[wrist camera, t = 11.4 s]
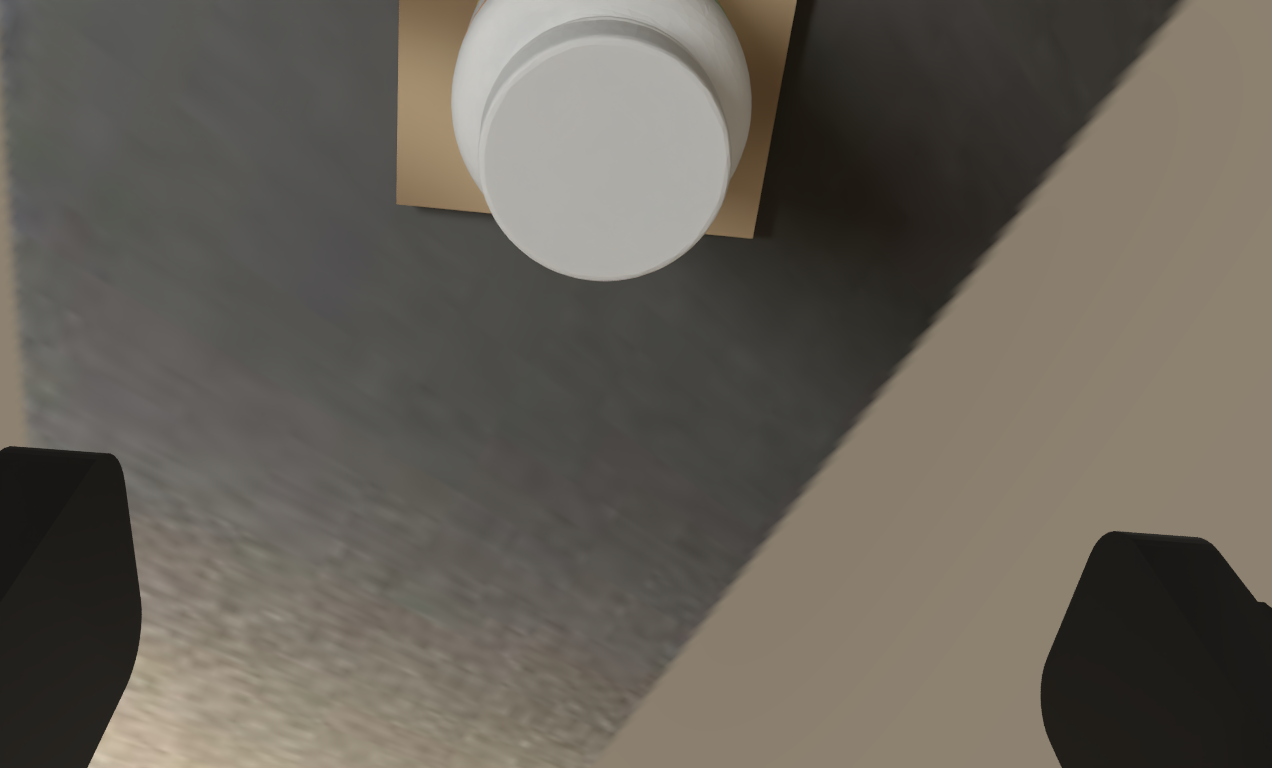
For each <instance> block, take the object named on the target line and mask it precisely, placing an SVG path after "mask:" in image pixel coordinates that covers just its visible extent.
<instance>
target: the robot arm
mask: <svg viewBox="0 0 1272 768" xmlns="http://www.w3.org/2000/svg"><path fill="white" fill-rule="evenodd" d="M141 619H142V607H141V597H140V590H139V582H138V575H137V568H136V560H135V553H134V546H133V538H132V531H131V524H130V516H129V509H128V502H127V494H126V487H125V480H124V475H123V471H122V468H121V465H120V463H119V461H118V459H117V458H116V457H115V456H114V455H112V454H109V453H95V452H82V451H68V450H55V449H42V448H28V447H15V446H14V447H13V446H9V447H6V448H4V449H2V450H1V451H0V768H87V767H88V765H89V763H90V761H91V759H92V757H93V755H94V753H95V751H96V749H97V747H98V744H99V742H100V740H101V738H102V736H103V734H104V732H105V730H106V728H107V726H108V724H109V721H110V719H111V717H112V715H113V713H114V711H115V709H116V707H117V705H118V703H119V701H120V699H121V696H122V694H123V692H124V690H125V688H126V686H127V684H128V681H129V679H130V676H131V673H132V670H133V667H134V664H135V660H136V656H137V651H138V646H139V640H140V632H141ZM1041 709H1042V716H1043V722H1044V726H1045V729H1046V733H1047V735H1048V738H1049V741H1050V743H1051V745H1052V747H1053V749H1054V752H1055V754H1056V756H1057V758H1058V760H1059V763H1060V765H1061V767H1062V768H1272V608H1271V607H1270V606H1268V605H1267V604H1266V603H1264V602H1257V600H1256V599H1255V598H1254V596H1253V595H1252V594H1251V593H1250V591H1249V590H1248V589H1247V587H1246V586H1245V585H1244V583H1243V582H1242V581H1241V580H1240V578H1239V577H1238V576H1237V574H1236V573H1235V572H1234V570H1233V569H1232V568H1231V567H1230V565H1229V564H1228V563H1227V561H1226V560H1225V559H1224V557H1223V556H1222V555H1221V554H1220V552H1219V551H1218V550H1217V549H1216V548H1215V547H1214V546H1213V545H1212V544H1211V543H1209V542H1208V541H1206V540H1204V539H1202V538H1198V537H1186V536H1173V535H1159V534H1146V533H1145V534H1144V533H1132V532H1119V531H1113V532H1109V533H1107V534H1105V535H1104V536H1102V537H1101V538H1100V539H1099V540H1098V542H1097V543H1096V544H1095V546H1094V548H1093V550H1092V552H1091V554H1090V556H1089V558H1088V561H1087V563H1086V566H1085V568H1084V570H1083V573H1082V575H1081V578H1080V580H1079V582H1078V585H1077V587H1076V590H1075V592H1074V594H1073V597H1072V599H1071V602H1070V604H1069V607H1068V609H1067V611H1066V614H1065V616H1064V619H1063V621H1062V623H1061V626H1060V628H1059V631H1058V633H1057V635H1056V638H1055V640H1054V643H1053V645H1052V648H1051V650H1050V652H1049V655H1048V657H1047V660H1046V663H1045V666H1044V670H1043V674H1042V681H1041Z"/></svg>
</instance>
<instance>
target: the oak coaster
mask: <svg viewBox="0 0 1272 768" xmlns="http://www.w3.org/2000/svg"><path fill="white" fill-rule="evenodd" d="M477 2H478V0H399V53H398V129H397V204H400V205H410V206H420V207H431V208H441V209H451V210H462V211H472V212H482V213H491V211H490V209H489V207H488V205H487V202H486V200H485V197H484V194H483V193H482V192H481V191H480V189H479V188H478V186H477V185H476V183H475V182H474V180H473V178H472V177H471V175H470V173H469V171H468V169H467V167H466V165H465V163H464V161H463V158H462V156H461V154H460V151H459V147H458V144H457V141H456V137H455V133H454V127H453V121H452V110H451V94H452V82H453V75H454V70H455V65H456V61H457V58H458V54H459V50H460V47H461V44H462V42H463V39H464V36H465V33H466V31H467V29H468V26H469V23H470V21H471V18H472V15H473V13H474V10H475V7H476V5H477ZM719 2H720V4H721V6H722V8H723V10H724V12H725V14H726V15H727V17H728V19H729V21H730V23H731V25H732V27H733V28H734V30H735V32H736V35H737V38H738V40H739V42H740V45H741V48H742V50H743V53H744V56H745V60H746V63H747V68H748V72H749V77H750V85H751V96H752V100H751V121H750V128H749V133H748V138H747V141H746V145H745V148H744V150H743V153H742V156H741V159H740V161H739V163H738V166H737V168H736V170H735V172H734V174H733V176H732V178H731V179H730V181H729V185H728V189H727V193H726V196H725V199H724V201H723V204H722V206H721V208H720V210H719V212H718V214H717V216H716V218H715V220H714V221H713V223H712V224H711V226H710V227H709V229H708V230H707V231H706V233H705V234H710V235H720V236H730V237H740V238H751V239H753V234H754V229H755V223H756V218H757V213H758V207H759V202H760V196H761V191H762V186H763V180H764V175H765V169H766V164H767V159H768V153H769V148H770V142H771V137H772V132H773V126H774V121H775V115H776V110H777V104H778V99H779V94H780V88H781V83H782V77H783V72H784V67H785V61H786V56H787V50H788V45H789V40H790V34H791V29H792V23H793V18H794V13H795V7H796V2H797V0H719Z"/></svg>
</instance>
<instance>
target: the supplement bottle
mask: <svg viewBox="0 0 1272 768" xmlns="http://www.w3.org/2000/svg"><path fill="white" fill-rule="evenodd" d="M751 100H752V96H751V85H750V77H749V72H748V68H747V63H746V60H745V56H744V53H743V50H742V48H741V45H740V42H739V40H738V38H737V35H736V32H735V30H734V28H733V27H732V25H731V23H730V21H729V19H728V17H727V15H726V14H725V12H724V10H723V8H722V6H721V4H720V2H719V0H478V2H477V5H476V7H475V10H474V13H473V15H472V18H471V21H470V23H469V26H468V29H467V31H466V33H465V36H464V39H463V42H462V44H461V47H460V50H459V54H458V58H457V61H456V65H455V70H454V75H453V82H452V94H451V110H452V121H453V127H454V133H455V137H456V141H457V144H458V147H459V151H460V154H461V156H462V158H463V161H464V163H465V165H466V167H467V169H468V171H469V173H470V175H471V177H472V178H473V180H474V182H475V183H476V185H477V186H478V188H479V189H480V191H481V192H482V193H483V194H484V197H485V200H486V202H487V205H488V207H489V209H490V211H491V213H492V215H493V217H494V219H495V221H496V222H497V223H498V225H499V226H500V228H501V229H502V231H503V232H504V233H505V234H506V235H507V237H508V238H509V239H510V240H511V241H512V242H513V243H514V244H515V245H516V246H517V247H518V248H519V249H520V250H521V251H523V252H524V253H525V254H526V255H528V256H529V257H530V258H531V259H533V260H534V261H536V262H538V263H540V264H541V265H543V266H545V267H546V268H549V269H551V270H553V271H555V272H558V273H561V274H563V275H567V276H571V277H575V278H579V279H585V280H591V281H619V280H625V279H631V278H635V277H639V276H642V275H645V274H648V273H651V272H654V271H656V270H658V269H660V268H662V267H664V266H666V265H668V264H670V263H672V262H673V261H675V260H676V259H678V258H679V257H680V256H682V255H683V254H685V253H686V252H687V251H688V250H690V249H691V248H692V247H693V246H694V245H695V244H696V243H697V242H698V241H699V240H700V238H701V237H702V236H703V235H704V234H705V233H706V231H707V230H708V229H709V227H710V226H711V224H712V223H713V221H714V220H715V218H716V216H717V214H718V212H719V210H720V208H721V206H722V204H723V201H724V199H725V196H726V193H727V189H728V185H729V181H730V179H731V178H732V176H733V174H734V172H735V170H736V168H737V166H738V163H739V161H740V159H741V156H742V153H743V150H744V148H745V145H746V141H747V138H748V133H749V128H750V121H751Z"/></svg>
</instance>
